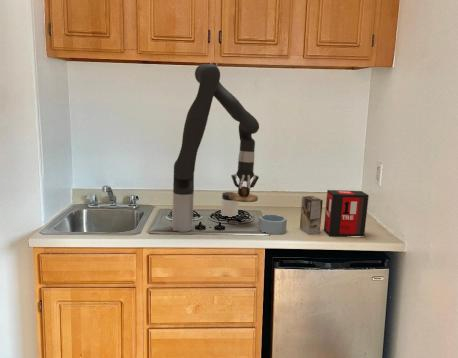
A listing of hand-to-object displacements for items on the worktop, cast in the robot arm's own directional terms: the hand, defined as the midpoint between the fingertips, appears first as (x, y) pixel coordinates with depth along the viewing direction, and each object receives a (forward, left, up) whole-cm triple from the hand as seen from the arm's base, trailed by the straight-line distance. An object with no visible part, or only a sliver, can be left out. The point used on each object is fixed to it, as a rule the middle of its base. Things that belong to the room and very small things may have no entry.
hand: (243, 195), depth 207 cm
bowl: (+12, -10, -14) cm, 22 cm away
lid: (0, 0, -2) cm, 2 cm away
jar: (-4, +14, -15) cm, 20 cm away
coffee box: (+30, -12, -15) cm, 36 cm away
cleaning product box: (+45, -17, -15) cm, 51 cm away
